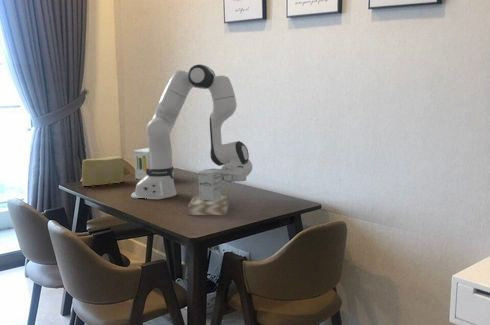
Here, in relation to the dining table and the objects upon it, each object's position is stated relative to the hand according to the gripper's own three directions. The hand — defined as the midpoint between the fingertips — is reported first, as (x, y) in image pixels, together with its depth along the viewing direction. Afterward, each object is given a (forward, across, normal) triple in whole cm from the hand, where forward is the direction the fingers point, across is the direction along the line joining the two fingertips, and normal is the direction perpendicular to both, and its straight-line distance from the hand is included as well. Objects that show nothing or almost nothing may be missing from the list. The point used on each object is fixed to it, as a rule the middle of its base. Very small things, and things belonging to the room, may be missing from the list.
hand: (214, 178), depth 227 cm
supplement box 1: (-38, -68, +14) cm, 79 cm away
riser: (+5, 0, +14) cm, 14 cm away
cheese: (-16, -84, +14) cm, 87 cm away
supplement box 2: (+5, 0, +9) cm, 10 cm away
